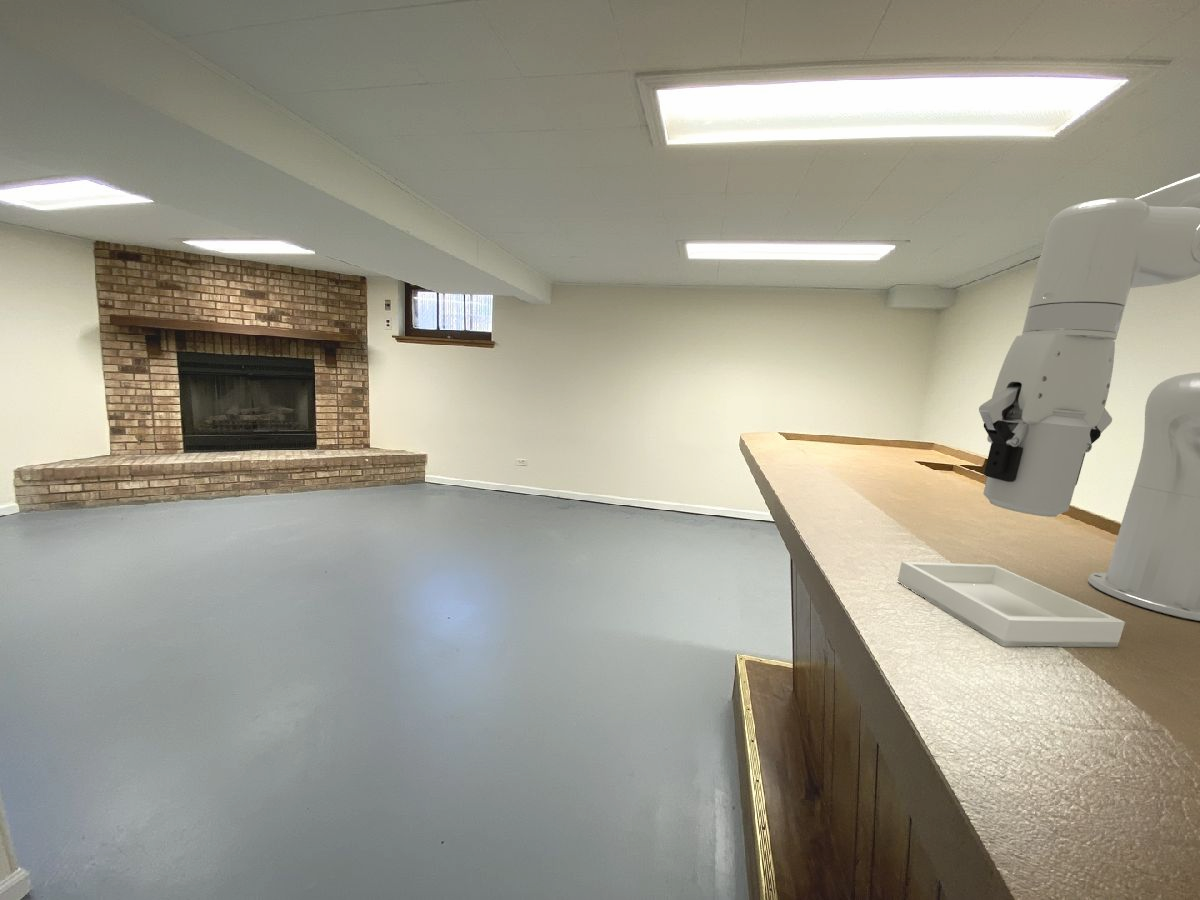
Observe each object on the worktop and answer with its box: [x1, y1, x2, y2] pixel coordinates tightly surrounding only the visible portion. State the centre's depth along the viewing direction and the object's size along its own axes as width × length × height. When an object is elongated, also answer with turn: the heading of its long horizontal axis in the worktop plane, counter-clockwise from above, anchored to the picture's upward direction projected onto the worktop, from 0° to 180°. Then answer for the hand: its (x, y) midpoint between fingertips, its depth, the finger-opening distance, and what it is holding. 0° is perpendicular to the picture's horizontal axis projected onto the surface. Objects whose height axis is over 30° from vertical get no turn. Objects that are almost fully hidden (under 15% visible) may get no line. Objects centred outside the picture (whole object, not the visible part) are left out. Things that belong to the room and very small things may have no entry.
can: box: [982, 409, 1091, 518], centre depth 53 cm, size 8×8×12 cm
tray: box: [897, 561, 1126, 648], centre depth 56 cm, size 15×15×3 cm
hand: (1029, 480), depth 54 cm, fingers closed on can, 7 cm apart
